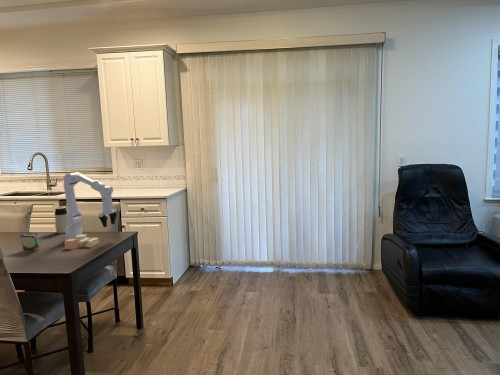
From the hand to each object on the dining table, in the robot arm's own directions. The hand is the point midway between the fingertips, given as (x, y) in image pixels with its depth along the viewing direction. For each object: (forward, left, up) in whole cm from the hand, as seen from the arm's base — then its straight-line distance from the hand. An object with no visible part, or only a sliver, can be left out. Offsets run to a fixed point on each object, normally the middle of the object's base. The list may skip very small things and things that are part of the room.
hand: (109, 225), depth 234 cm
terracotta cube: (-16, -17, -10) cm, 25 cm away
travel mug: (-48, +18, -10) cm, 52 cm away
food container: (-37, -23, -10) cm, 44 cm away
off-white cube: (-16, -7, -10) cm, 20 cm away
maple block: (-8, -11, -10) cm, 17 cm away
